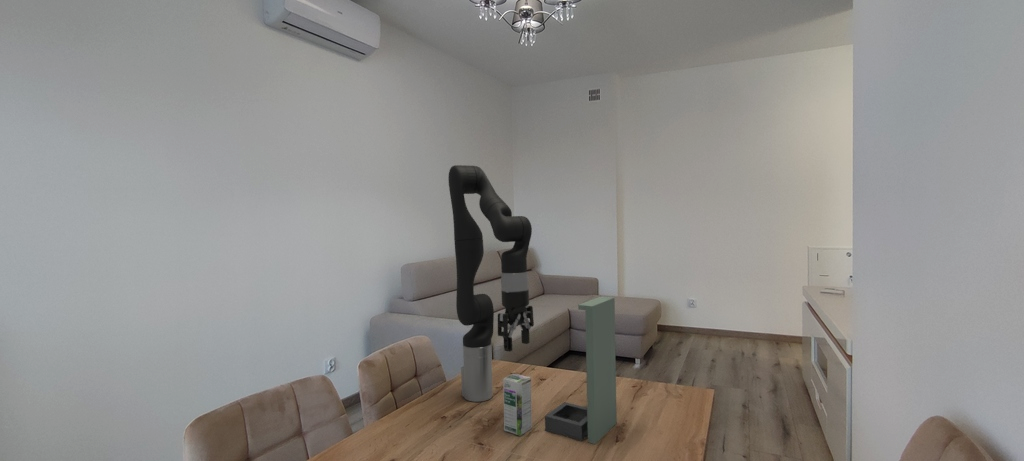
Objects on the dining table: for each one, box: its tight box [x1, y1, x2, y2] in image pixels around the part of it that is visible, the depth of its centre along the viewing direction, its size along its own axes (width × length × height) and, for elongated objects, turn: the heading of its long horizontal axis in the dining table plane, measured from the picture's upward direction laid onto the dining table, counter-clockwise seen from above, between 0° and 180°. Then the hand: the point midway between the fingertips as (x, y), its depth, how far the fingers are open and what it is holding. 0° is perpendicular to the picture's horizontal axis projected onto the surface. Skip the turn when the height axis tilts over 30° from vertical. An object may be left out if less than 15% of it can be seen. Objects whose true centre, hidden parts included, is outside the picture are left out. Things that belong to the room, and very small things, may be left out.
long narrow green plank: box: [577, 295, 618, 445], centre depth 121 cm, size 4×14×35 cm, turn 145°
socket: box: [544, 401, 588, 442], centre depth 124 cm, size 11×11×4 cm
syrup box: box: [502, 373, 533, 437], centre depth 124 cm, size 6×6×14 cm
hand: (517, 347), depth 125 cm, fingers open, 8 cm apart
